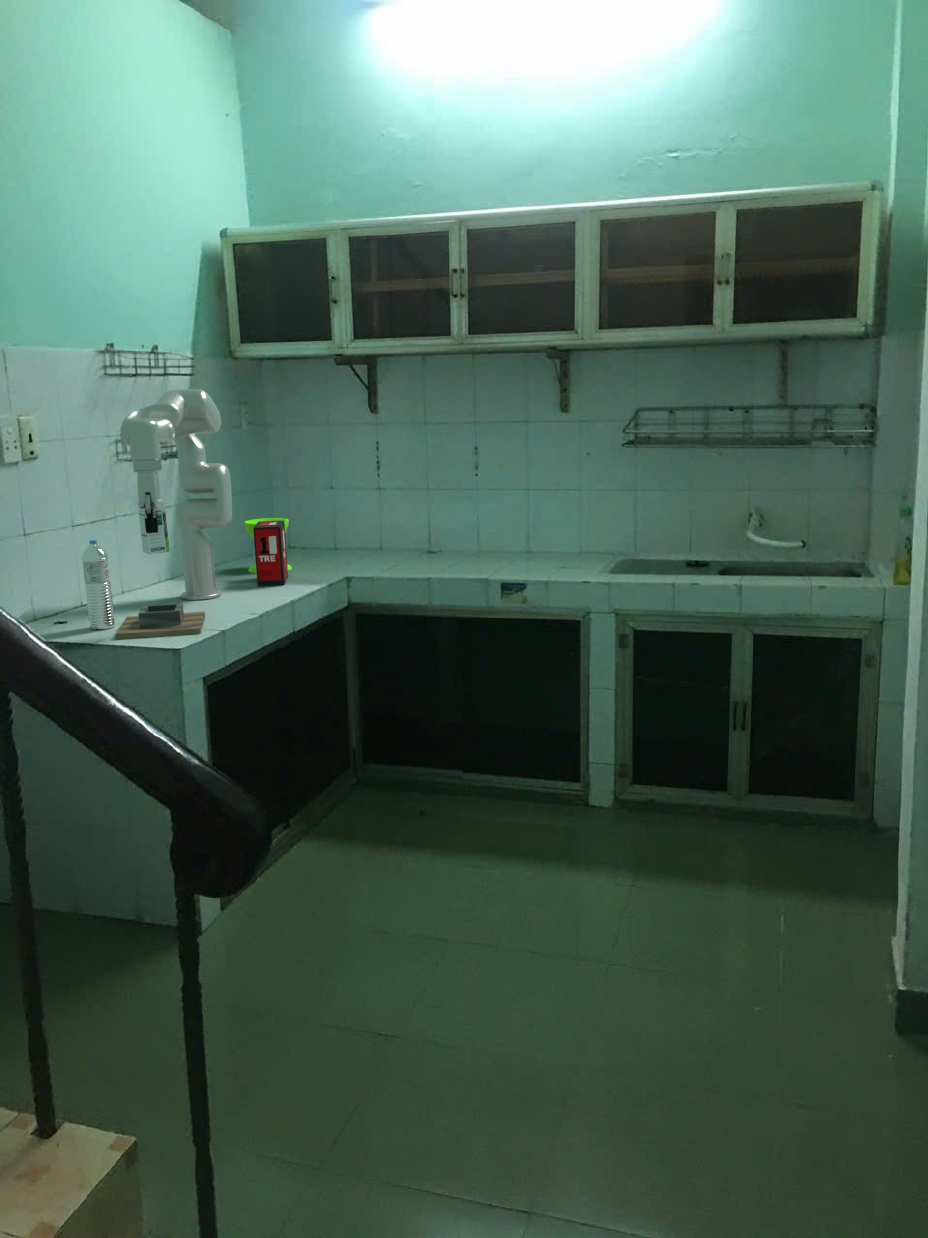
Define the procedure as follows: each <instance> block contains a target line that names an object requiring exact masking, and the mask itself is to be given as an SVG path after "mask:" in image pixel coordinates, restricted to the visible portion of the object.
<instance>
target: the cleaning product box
mask: <svg viewBox="0 0 928 1238" xmlns="http://www.w3.org/2000/svg"><path fill="white" fill-rule="evenodd" d="M253 531H254V538H253V541H254V555H255V557H254V558H255V565H256V571H257V573H256V583H257V587H258V588H260V587H261V588H262V587H281V586H282V587H283V585H284V586H285V585H286V583H287V581H288V578H289V570H288V567H287V564H288V554H287V553H288V552H287V542H286V539H287V538H286V532H285V523H284V521H259V522H258V523H257V524H256V525H255V526H254V528H253ZM286 580H287V581H286Z"/></svg>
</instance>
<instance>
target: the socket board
mask: <svg viewBox="0 0 928 1238" xmlns="http://www.w3.org/2000/svg"><path fill="white" fill-rule="evenodd" d="M205 619H206V611H204V610H203V611H189V612H188V611H187V612H184V603H183V602H182V603H181V602H179V603H164V604H163V603H162V604H147V605H142V606H141V608H140V610H139V612H138V615H130V616H129V615H128V616H126V617H125V619H124V621H123V623H122V624H121V625H120V627H119V629H117V632H116V634H115V637H116V640H125V639H127V640H128V639H137V638H138V639H140V638H141V639H142V638H154V637H155V638H156V637H169V636H170V637H171V636H182V635H186V636H187V635H197V634H198V635H200V634H199V633H201V634H202V630H203V626H204V623H203V622H205ZM201 629H202V630H201Z"/></svg>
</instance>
